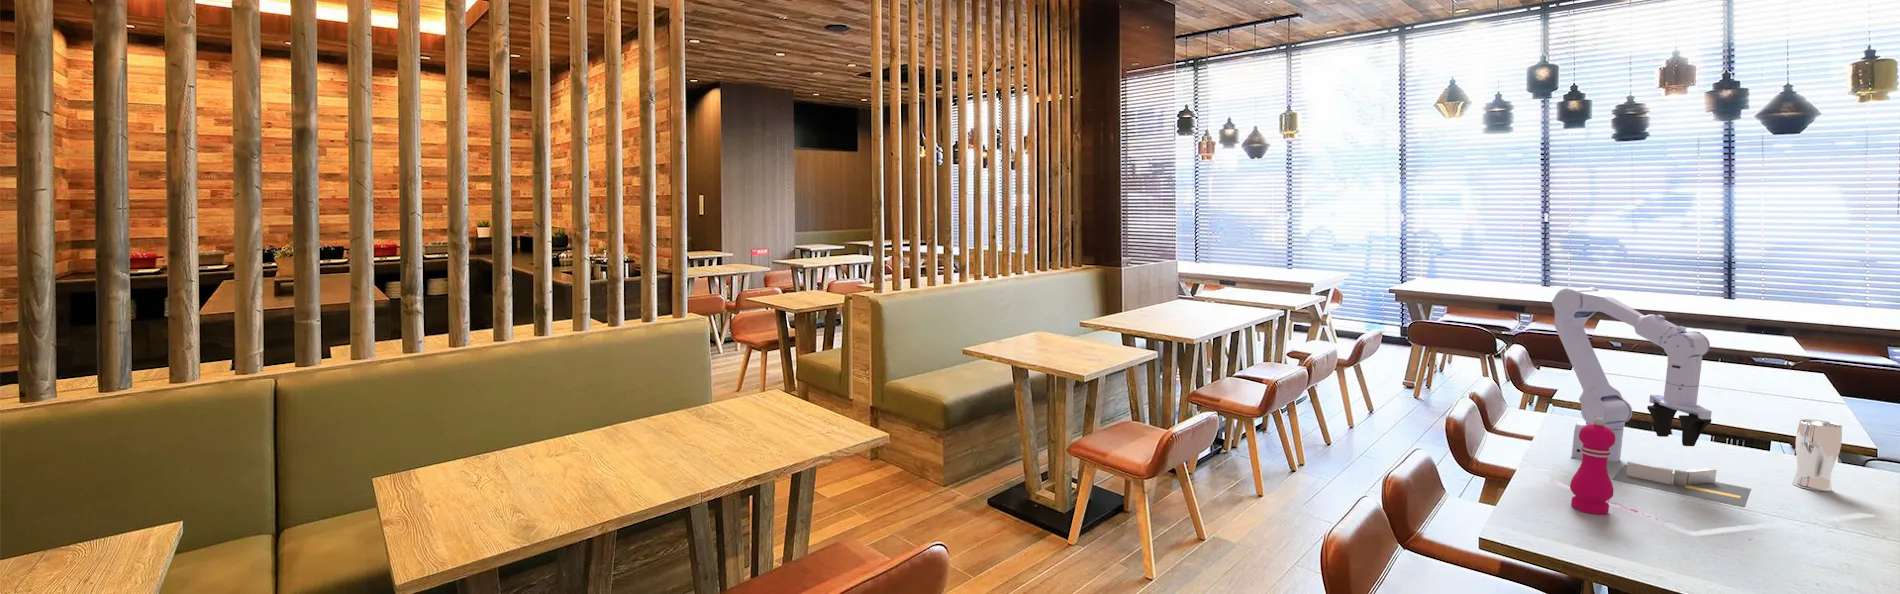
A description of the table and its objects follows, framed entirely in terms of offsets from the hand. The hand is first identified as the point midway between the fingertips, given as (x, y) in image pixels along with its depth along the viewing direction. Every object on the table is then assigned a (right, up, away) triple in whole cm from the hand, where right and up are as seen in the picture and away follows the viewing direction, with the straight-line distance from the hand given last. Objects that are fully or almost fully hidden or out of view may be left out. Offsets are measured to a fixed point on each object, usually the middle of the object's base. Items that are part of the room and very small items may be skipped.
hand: (1675, 441), depth 187 cm
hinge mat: (-2, -10, -4) cm, 11 cm away
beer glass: (+28, -10, -4) cm, 30 cm away
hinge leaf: (+2, -9, -4) cm, 10 cm away
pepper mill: (-33, -12, -16) cm, 38 cm away
